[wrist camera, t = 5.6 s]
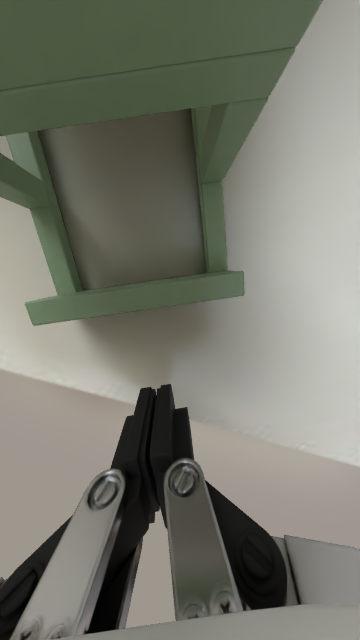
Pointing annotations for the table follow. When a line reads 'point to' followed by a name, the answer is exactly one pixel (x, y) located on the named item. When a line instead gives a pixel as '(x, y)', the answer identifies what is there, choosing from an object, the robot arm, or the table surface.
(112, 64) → the chair
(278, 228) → the table surface
